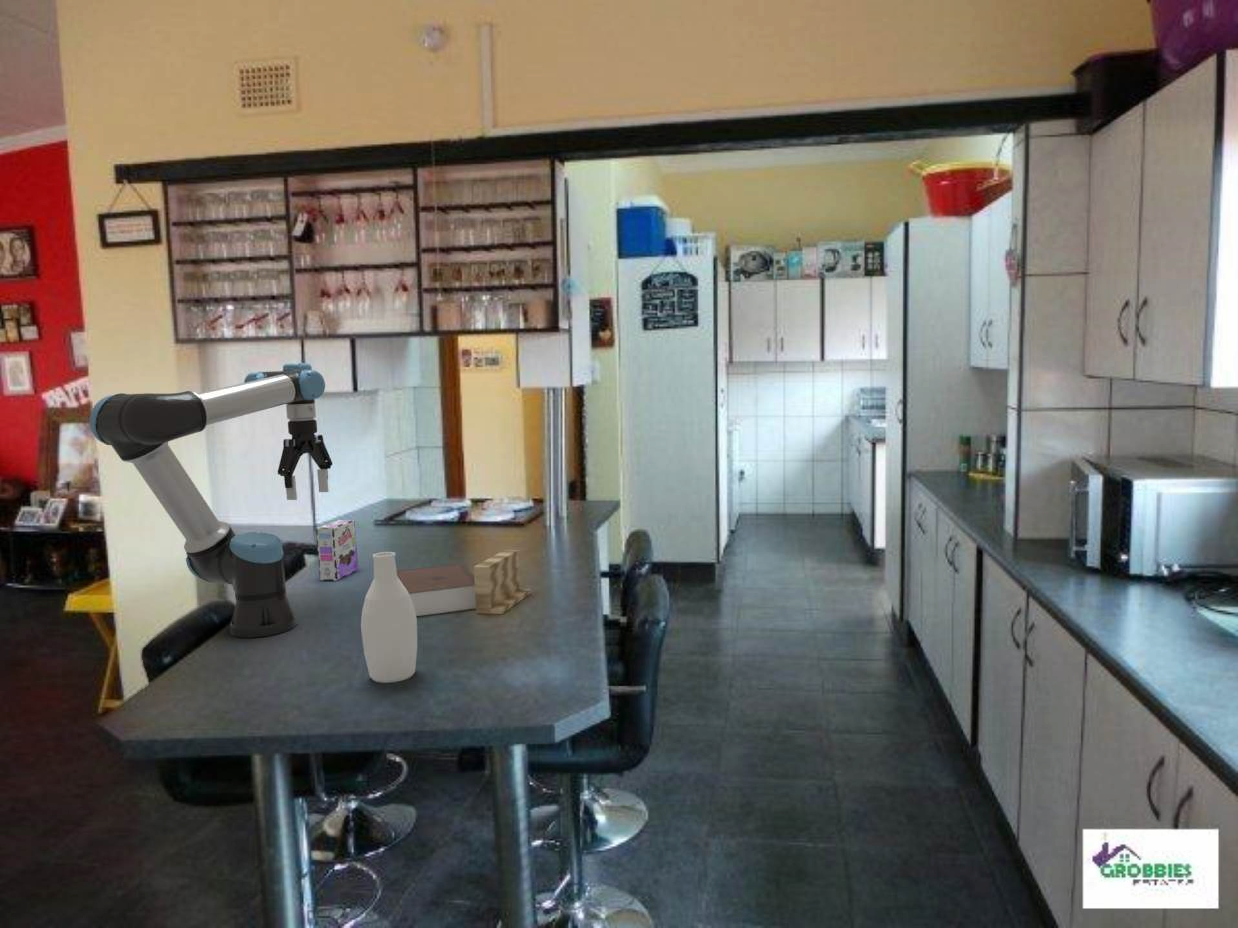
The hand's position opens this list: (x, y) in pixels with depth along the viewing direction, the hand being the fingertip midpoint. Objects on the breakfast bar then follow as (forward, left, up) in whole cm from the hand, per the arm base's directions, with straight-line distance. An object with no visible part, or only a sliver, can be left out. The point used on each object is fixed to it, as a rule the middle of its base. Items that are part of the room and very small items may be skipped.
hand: (308, 495), depth 248 cm
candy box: (+22, +7, -29) cm, 37 cm away
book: (-1, -35, -29) cm, 46 cm away
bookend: (-1, -57, -28) cm, 64 cm away
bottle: (-56, -56, -29) cm, 84 cm away
